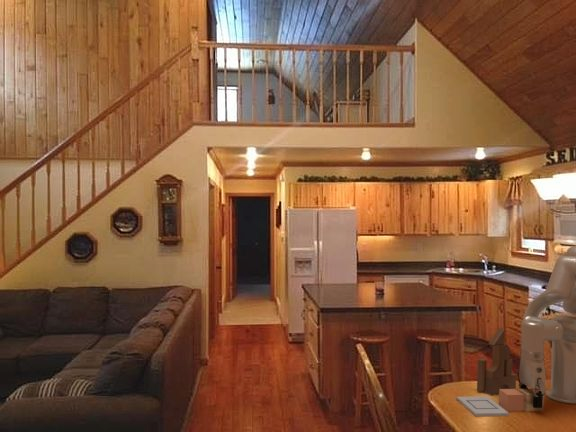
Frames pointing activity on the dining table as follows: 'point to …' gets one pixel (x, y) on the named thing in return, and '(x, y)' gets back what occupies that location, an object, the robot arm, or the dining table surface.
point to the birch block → (529, 400)
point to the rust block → (511, 399)
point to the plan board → (482, 406)
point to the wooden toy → (496, 368)
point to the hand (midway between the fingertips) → (530, 402)
